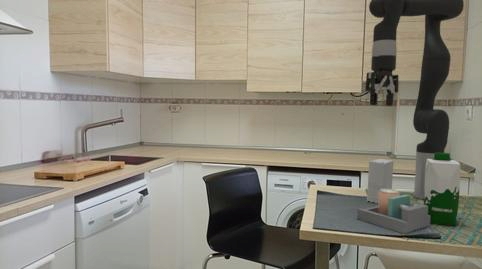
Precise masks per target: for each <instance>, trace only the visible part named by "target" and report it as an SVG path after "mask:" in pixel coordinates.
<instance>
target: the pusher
mask: <svg viewBox="0 0 482 269" xmlns="http://www.w3.org/2000/svg"><path fill="white" fill-rule="evenodd" d="M410 202H411V195H409V194H403V195H399V196H397V197H392V198H389V200H388V216H390V217H393V218H397V219H400V220H401V217H402V209H404V208H408V207H411V206H410V205H411V203H410Z"/></svg>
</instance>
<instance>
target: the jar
mask: <svg viewBox="0 0 482 269" xmlns="http://www.w3.org/2000/svg"><path fill="white" fill-rule="evenodd" d="M397 196H400V192H399V190H397V189H393V188H392V189H387V188H383V189H380V191H379V197H378V204H377V206H378V213H379V214H383V215H386V216H388V200H389V198H392V197H397Z"/></svg>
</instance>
